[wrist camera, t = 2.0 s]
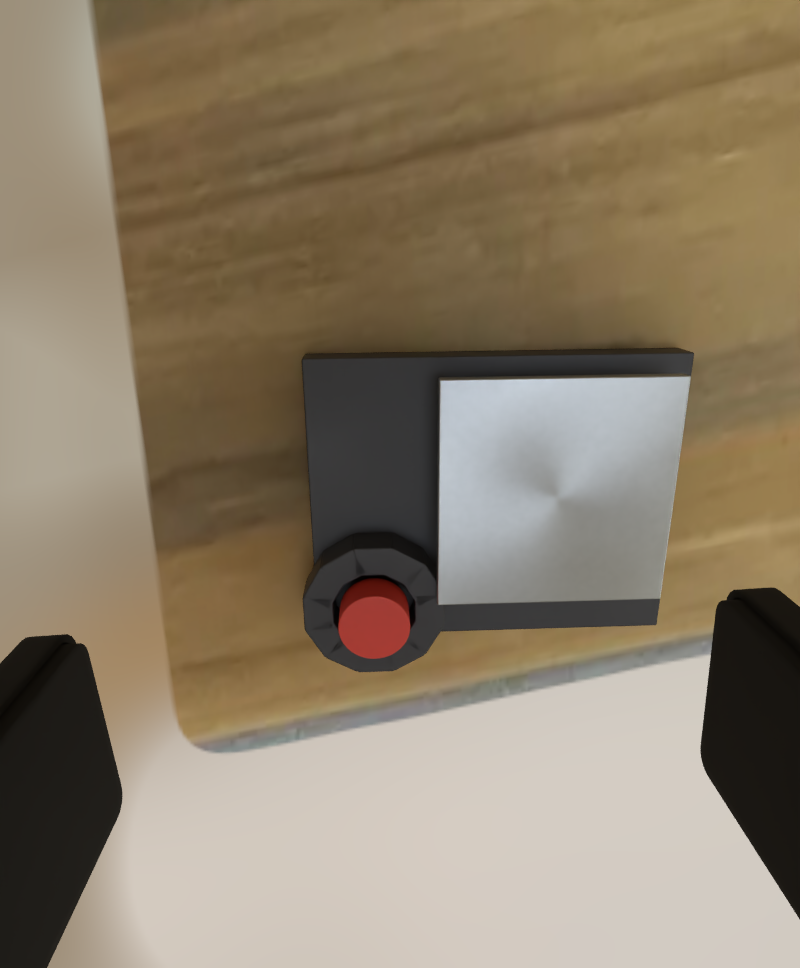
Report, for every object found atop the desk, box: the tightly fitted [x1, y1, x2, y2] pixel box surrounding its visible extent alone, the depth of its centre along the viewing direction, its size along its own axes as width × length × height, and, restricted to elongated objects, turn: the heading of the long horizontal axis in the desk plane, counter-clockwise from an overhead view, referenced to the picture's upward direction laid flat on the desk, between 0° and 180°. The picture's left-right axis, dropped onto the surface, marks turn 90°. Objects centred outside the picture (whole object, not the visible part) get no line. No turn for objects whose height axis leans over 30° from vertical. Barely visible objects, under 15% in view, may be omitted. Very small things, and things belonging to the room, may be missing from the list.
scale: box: [302, 348, 694, 672], centre depth 27 cm, size 15×13×3 cm
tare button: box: [338, 578, 410, 659], centre depth 26 cm, size 3×3×2 cm
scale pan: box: [436, 373, 691, 605], centre depth 25 cm, size 9×9×1 cm
